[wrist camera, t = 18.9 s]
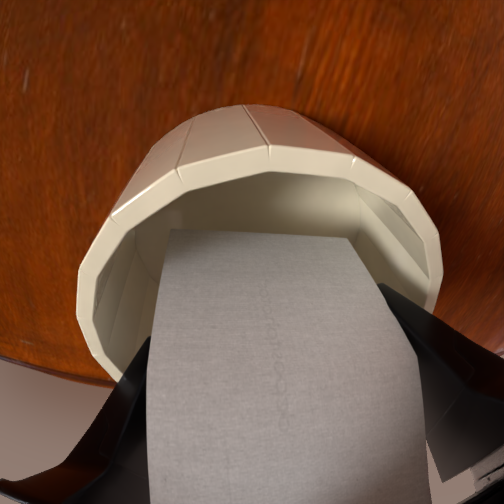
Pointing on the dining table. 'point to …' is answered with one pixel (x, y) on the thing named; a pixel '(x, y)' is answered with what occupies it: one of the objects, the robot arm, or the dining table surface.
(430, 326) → the robot arm
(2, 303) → the dining table surface
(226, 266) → the tea bag
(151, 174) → the holder
